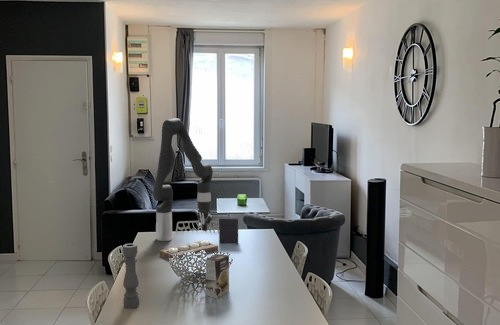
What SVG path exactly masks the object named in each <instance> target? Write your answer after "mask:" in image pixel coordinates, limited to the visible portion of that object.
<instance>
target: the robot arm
mask: <svg viewBox="0 0 500 325" xmlns="http://www.w3.org/2000/svg"><path fill="white" fill-rule="evenodd" d="M175 135H176V136H178V137H179V138H180V140H181V142H182V149H183V154H184V155H185V157H186V159H187V160H188V161H189V163H190V164H191V165H190V166H191V168H192V171H193V172H194V174H195V176H196V177H197V178H200V181H199V182H197V197H196V199H197V201H196V202H197V203H196V204H197V205H196V206H197V209H198V211H197V212H196V213H195V215H196V217H197V220H198V222H199V223H200V224H201V231H203V232H206V231H207V230H208V224H210V223H211V222H212V220H213V217H214V216H213V215H212V214H211V212H210V210H211V208H212V195H211V183H212V179H213V174H214V173H213V167H212V166H211V165H210V164H209V163H206V164H205V163H204V164H203V163H202V160H203V157H202V155H201V154H200V152H199V151H198V150H197V148H196V146H195V144H194V143H193V141H192V138H191V136H190V135H189V133H188V131H187V128H186V126H185V124H184V123H183V121H182V119H180V118H177V117H176V118H175V117H174V118H168V119H165V120H163V123H162V126H161V144H160V149H159V150H160V152H159V157H158V164H157V171H156V178H155V182H154V185H153V190H152V197H153V198H152V199H154V201H155V202H162V203H160V204H159V205H157V206H156V208H155V213H156V214H155V215H156V216H155V218H156V223H155V238H156V240H157V241H158V242H168V241H172V240H173V212H172V211H173V198H174V192H173V188H172V186H171V185H170V184H164V183H165V181H166V179H167V177H169V175H170V174H171V173H172V172H173V170H174V167H175V164H176V163H175V162H176V153H175V151H174V148H173V145H172V143H173V142H172V141H173V137H174V136H175Z"/></svg>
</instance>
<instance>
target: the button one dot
mask: <svg viewBox="0 0 500 325" xmlns="http://www.w3.org/2000/svg"><path fill="white" fill-rule="evenodd" d="M200 241H201V242H200V245H201V246H208V245H209V243H210V242H209V241H208V240H200Z"/></svg>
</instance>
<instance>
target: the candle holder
mask: <svg viewBox="0 0 500 325" xmlns="http://www.w3.org/2000/svg"><path fill="white" fill-rule="evenodd" d="M122 254H123V257H124V259H123V263H124V264H125V272H124V277H123V281H122V282H123V283H122V285H123V286H122V287H123V288H124V289H125V292H124V294H123V296H124V297H123V308H124V309H127V310H128V309H129V310H130V309H131V310H132V309H137V308H139V307H140V296H139V291H137V288H138V287H139V284H140V281H139V278H138V275H137V274H138V273H137V270H136V263H137V262H138V259H137V258H136V257H137V254H138V244H137V243H132V242H131V243H125V244H123V245H122Z"/></svg>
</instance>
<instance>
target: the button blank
mask: <svg viewBox="0 0 500 325" xmlns="http://www.w3.org/2000/svg"><path fill="white" fill-rule="evenodd" d="M183 245H184V246H181V245H179V246H180V251H186V250H189V246H185V244H183Z"/></svg>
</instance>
